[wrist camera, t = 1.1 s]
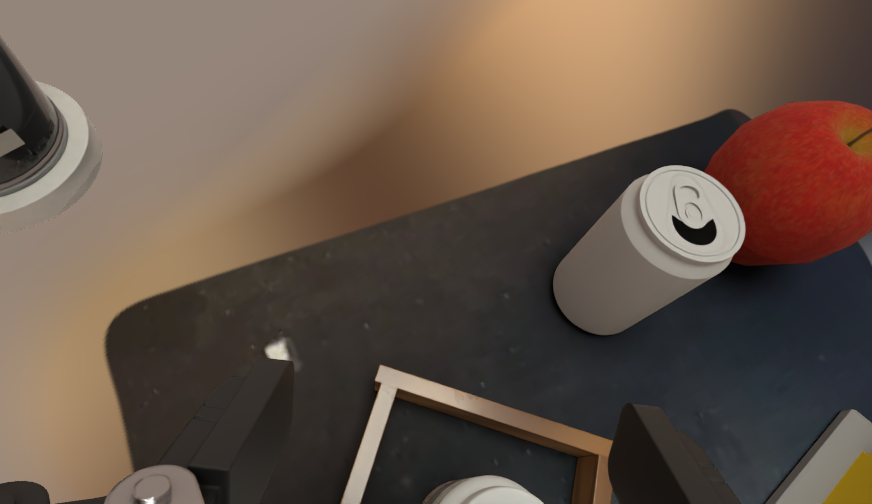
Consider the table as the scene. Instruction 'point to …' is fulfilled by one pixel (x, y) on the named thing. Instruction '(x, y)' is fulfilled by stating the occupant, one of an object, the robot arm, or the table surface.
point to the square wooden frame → (590, 449)
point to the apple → (799, 181)
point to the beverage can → (649, 249)
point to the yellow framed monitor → (833, 466)
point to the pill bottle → (481, 492)
